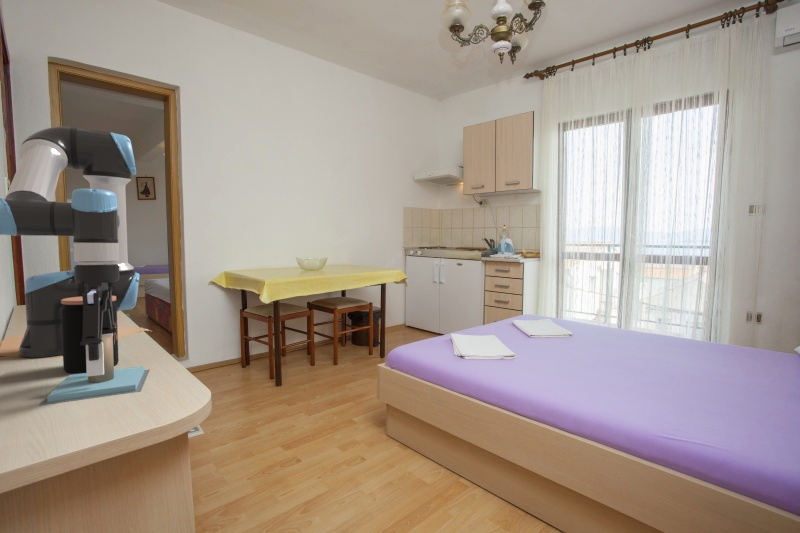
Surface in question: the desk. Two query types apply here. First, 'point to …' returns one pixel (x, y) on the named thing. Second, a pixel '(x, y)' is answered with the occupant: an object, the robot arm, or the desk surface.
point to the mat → (106, 394)
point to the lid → (99, 379)
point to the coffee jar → (79, 335)
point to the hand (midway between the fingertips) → (100, 368)
